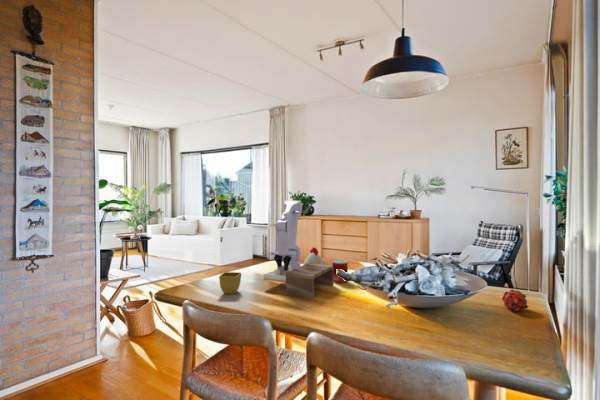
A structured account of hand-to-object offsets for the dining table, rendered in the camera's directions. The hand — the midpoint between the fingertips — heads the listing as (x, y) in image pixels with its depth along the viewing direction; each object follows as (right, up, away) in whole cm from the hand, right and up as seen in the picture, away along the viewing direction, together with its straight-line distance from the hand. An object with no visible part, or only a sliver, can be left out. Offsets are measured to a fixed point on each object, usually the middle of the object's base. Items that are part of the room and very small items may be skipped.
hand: (283, 270), depth 175 cm
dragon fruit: (+95, -8, -38) cm, 103 cm away
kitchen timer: (+17, -8, +30) cm, 35 cm away
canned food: (+30, -8, +8) cm, 32 cm away
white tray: (0, -4, 0) cm, 4 cm away
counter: (+14, -8, -8) cm, 18 cm away
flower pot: (-25, -9, -10) cm, 28 cm away
